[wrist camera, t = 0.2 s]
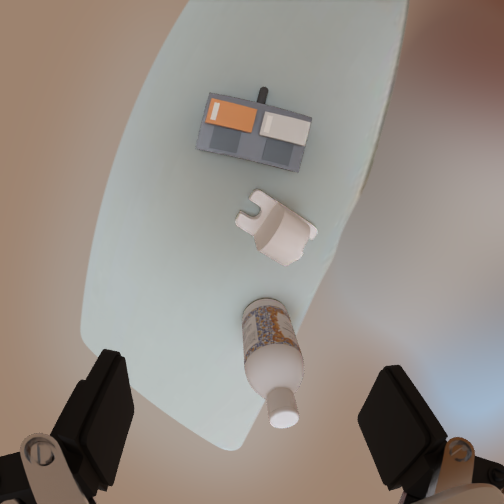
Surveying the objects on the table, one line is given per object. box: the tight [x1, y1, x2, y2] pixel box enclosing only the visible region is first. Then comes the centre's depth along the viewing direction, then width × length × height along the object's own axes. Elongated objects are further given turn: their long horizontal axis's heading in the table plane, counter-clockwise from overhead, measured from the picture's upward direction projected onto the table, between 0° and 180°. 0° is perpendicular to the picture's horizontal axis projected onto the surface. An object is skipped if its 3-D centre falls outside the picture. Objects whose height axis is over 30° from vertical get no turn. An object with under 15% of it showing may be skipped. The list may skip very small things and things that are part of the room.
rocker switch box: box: [195, 87, 312, 172], centre depth 32 cm, size 10×12×4 cm
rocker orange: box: [205, 98, 257, 133], centre depth 29 cm, size 3×5×1 cm, turn 76°
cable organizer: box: [236, 189, 318, 266], centre depth 34 cm, size 5×10×10 cm, turn 57°
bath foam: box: [242, 299, 304, 428], centre depth 34 cm, size 7×7×20 cm
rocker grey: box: [259, 111, 311, 147], centre depth 30 cm, size 3×5×1 cm, turn 76°
